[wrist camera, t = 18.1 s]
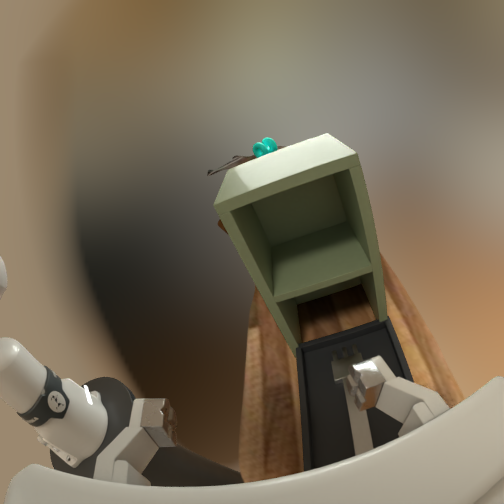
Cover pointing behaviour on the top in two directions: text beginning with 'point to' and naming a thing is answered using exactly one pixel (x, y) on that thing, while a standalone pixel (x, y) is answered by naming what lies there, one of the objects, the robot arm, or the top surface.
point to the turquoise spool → (264, 147)
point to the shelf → (303, 228)
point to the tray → (342, 392)
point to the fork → (357, 418)
